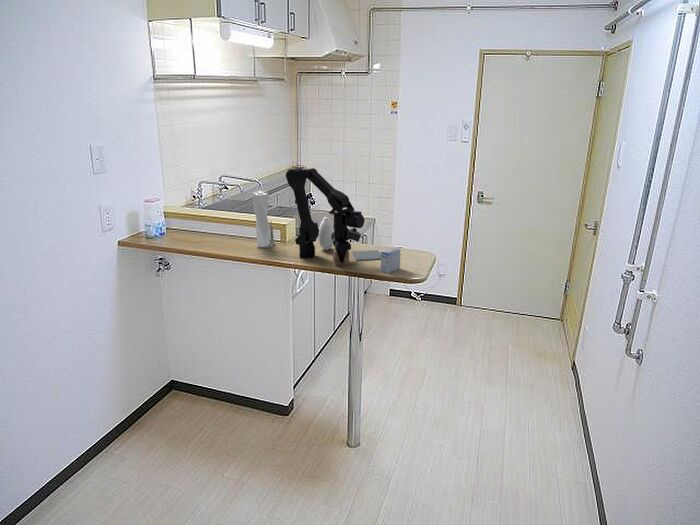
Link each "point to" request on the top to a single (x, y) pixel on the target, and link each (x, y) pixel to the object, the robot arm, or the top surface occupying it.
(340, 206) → the robot arm
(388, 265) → the medicine box
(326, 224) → the white elongated ovoid
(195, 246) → the top surface
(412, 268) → the top surface
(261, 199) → the skyscraper
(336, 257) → the cube
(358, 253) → the mat
